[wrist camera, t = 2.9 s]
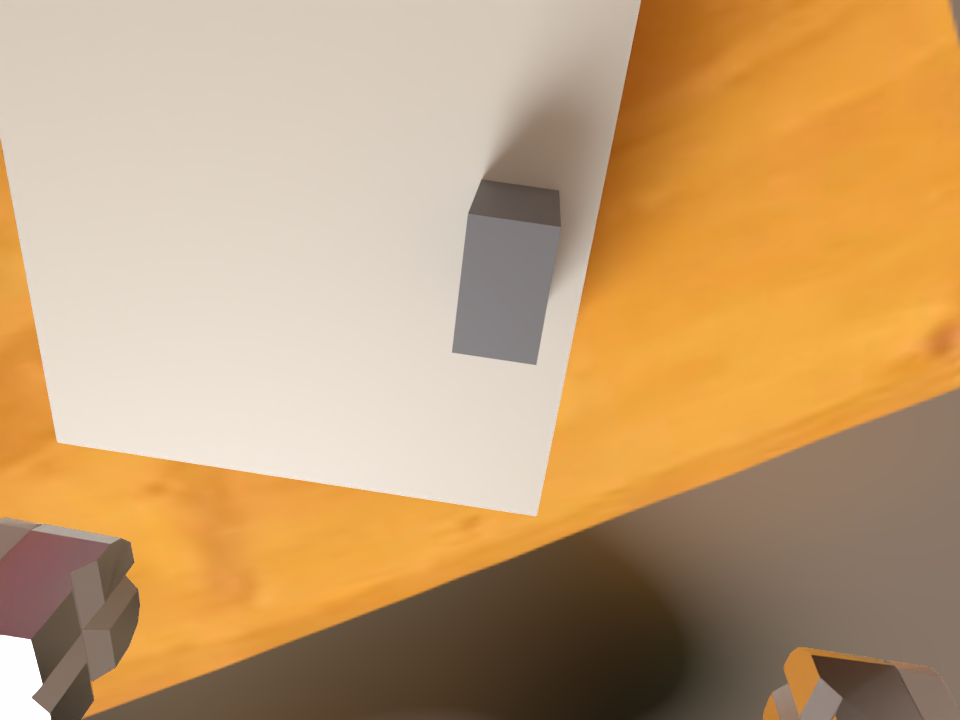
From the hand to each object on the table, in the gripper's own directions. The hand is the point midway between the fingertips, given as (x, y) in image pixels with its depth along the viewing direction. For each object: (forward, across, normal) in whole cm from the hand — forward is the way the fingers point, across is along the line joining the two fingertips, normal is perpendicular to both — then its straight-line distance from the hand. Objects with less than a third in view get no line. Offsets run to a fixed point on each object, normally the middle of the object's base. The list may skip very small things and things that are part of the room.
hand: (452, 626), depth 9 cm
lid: (+16, +7, 0) cm, 18 cm away
